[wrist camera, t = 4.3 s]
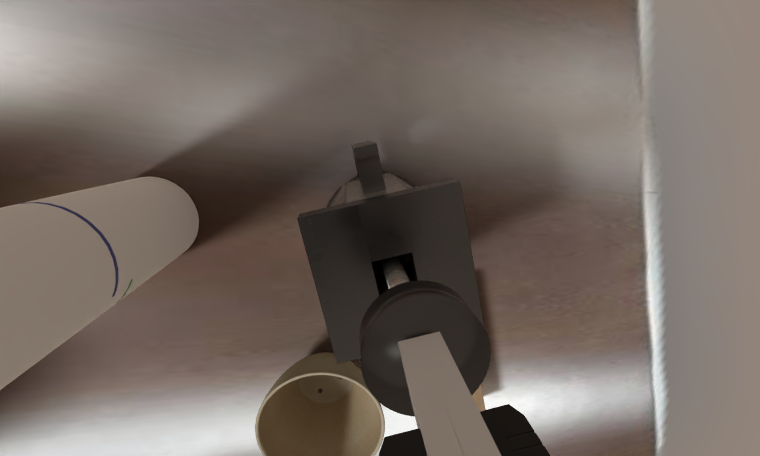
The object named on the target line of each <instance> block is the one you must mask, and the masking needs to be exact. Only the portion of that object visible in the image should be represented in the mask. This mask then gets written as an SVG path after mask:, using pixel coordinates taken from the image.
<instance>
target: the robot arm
mask: <svg viewBox="0 0 760 456" xmlns="http://www.w3.org/2000/svg"><path fill="white" fill-rule="evenodd" d="M398 346H399V350H400V354H401V359H402V363H403V368H404V372H405V376H406V381H407V385H408V389H409V394H410V398H411V403H412V407H413V411H414V415H415V419H416V423H417V426H418V429H415V430H411V431H407V432H403V433H399V434H395V435H391V436H388V437H385V438H384V441H383V444H382V447H381V450H380V453H379V456H550V454H549V453H548V451H547V450H546V448H545V447H544V446H543V445H542V442H541V441H540V439H539V437H538V436H537V434H536V433H535V432H534V430H533V428H532V427H531V425H530V424H529V422H528V421H527V419H526V417H525V416H524V415H523V414H522V413H520V412H519V411H517V410H516V409H515V408H513V407H512V406H510V405H509V404H508V405H504V406H500V407H496V408H492V409H488V410H484V411H480V412H479V410H478V408H477V406H476V404H475V402H474V400H473V398H472V396H471V394H470V392H469V390H468V388H467V385H466V383H465V381H464V379H463V377H462V375H461V373H460V371H459V369H458V367H457V365H456V363H455V361H454V359H453V357H452V355H451V353H450V351H449V349H448V347H447V345H446V343H445V341H444V339H443V337H442V335H441V333H440V331H439V332H435V333H431V334H427V335H423V336H419V337H415V338H411V339H407V340H403V341H399V342H398Z"/></svg>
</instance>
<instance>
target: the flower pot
mask: <svg viewBox="0 0 760 456" xmlns="http://www.w3.org/2000/svg"><path fill="white" fill-rule="evenodd" d="M321 389H322V392H320V390H321ZM384 431H385V421H384V415H383V411H382V408H381V405H380V402H379V401H378V400H377V399H376V398H375V397H374V396H373V395H372V394H371V392H370V391H369V389H368V388H367V386H366V384H365V381H364V378H363V375H362V371H361V370H360V369H359V368H358V367H357V366H356V365H355V364H354V363H353V362H351V361H348V362H344V363H340V364H337V362H336V359H335V355H334V353H329V352H323V353H317V354H313V355H310V356H308V357H305V358H304V359H302V360H300V361H298V362H297V363H295V364H294V365H293V366H291V367H290V368H289V369H288V370H287V371H286V372H285V373H284V374H283V375H282V376H281V377H280V378H279V379H278V380H277V381H276V383H275V384H274V385H273V387H272V388H271V389H270V391H269V392H268V394H267V396H266V397H265V399H264V401H263V403H262V405H261V407H260V409H259V411H258V414H257V418H256V424H255V432H256V439H257V443H258V446H259V448H260V450H261V452H262V454H263V455H264V456H375V454H376V453H377V451H378V450H379V448H380V445H381V443H382V440H383V437H384Z"/></svg>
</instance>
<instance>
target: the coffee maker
mask: <svg viewBox="0 0 760 456" xmlns="http://www.w3.org/2000/svg"><path fill="white" fill-rule="evenodd" d="M351 146H352V150H353V155H354V159H355V163H356V168H357V172H358V177H356V178H354V179H352V180H350V181H348V182H346V183H345V184H344V185H343V186H342V187H340V188H339V189H338V190H337V192H336V193H335V194H334V195H333V197H332V198H331V200H330V202H329V203H328V205H327V207H326V208H322V209H318V210H313V211H309V212H305V213H300V214H299V216H298V218H297V220H298V223H299V227H300V231H301V234H302V238H303V242H304V245H305V249H306V253H307V256H308V260H309V264H310V267H311V271H312V274H313V278H314V282H315V285H316V289H317V293H318V296H319V300H320V304H321V307H322V311H323V315H324V318H325V322H326V326H327V329H328V333H329V337H330V340H331V344H332V348H333V351H334V355H335V359H336V362H337V364H340V363H344V362H348V361H352V360H356V359H360V346H359V331H360V326H361V322H362V319H363V317H364V315H365V313H366V311H367V309H368V308H369V306H370V305H371V304H372V303H373V301H374V300H375V299H376V298H377V297H378V296H380V295H381V294H382V293H384V292H385V291H387V290H388V289H389V288H388V284H387V281H386V278H385V274H374V271H373V267H372V263H371V262H373V261H378V260H382V259H386V258H390V257H395V256H399V255H403V254H407V253H410V256H411V261H410V262H409V263H408V264H407V265H406V266H404V267H403V268H404V270H405V272H406V275H407V277H408V279H409V281H419V280H424V281H432V282H437V283H440V284H443V285H445V286H447V287H449V288H451V289H452V290H454V291H455V292H457V293H458V294H459V295H460V296H461V297H462V298H463V299H464V300H465V302H466V303H467V304H468V306H469V307H470V308H471V310H472V311H473V313H474V314H475V315H476V317H477V318H478V320H479V321H480V322H481V324H482V325H483V327H484V323H483V317H482V311H481V305H480V299H479V293H478V287H477V281H476V275H475V269H474V263H473V257H472V251H471V245H470V239H469V233H468V227H467V221H466V215H465V209H464V203H463V197H462V191H461V185H460V181H458V180H456V179H449V180H444V181H440V182H436V183H431V184H427V185H423V186H418V187H415V186H414V185H412V184H411V183H410V182H408V181H407V180H405V179H403V178H401V177H399V176H396V175H393V174H389V173H382V168H381V164H380V159H379V154H378V150H377V145H376V143H374V142H371V141H366V142H362V143H357V144H353V145H351Z"/></svg>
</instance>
